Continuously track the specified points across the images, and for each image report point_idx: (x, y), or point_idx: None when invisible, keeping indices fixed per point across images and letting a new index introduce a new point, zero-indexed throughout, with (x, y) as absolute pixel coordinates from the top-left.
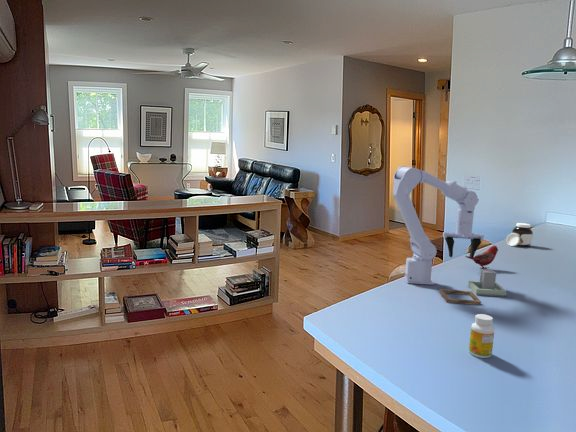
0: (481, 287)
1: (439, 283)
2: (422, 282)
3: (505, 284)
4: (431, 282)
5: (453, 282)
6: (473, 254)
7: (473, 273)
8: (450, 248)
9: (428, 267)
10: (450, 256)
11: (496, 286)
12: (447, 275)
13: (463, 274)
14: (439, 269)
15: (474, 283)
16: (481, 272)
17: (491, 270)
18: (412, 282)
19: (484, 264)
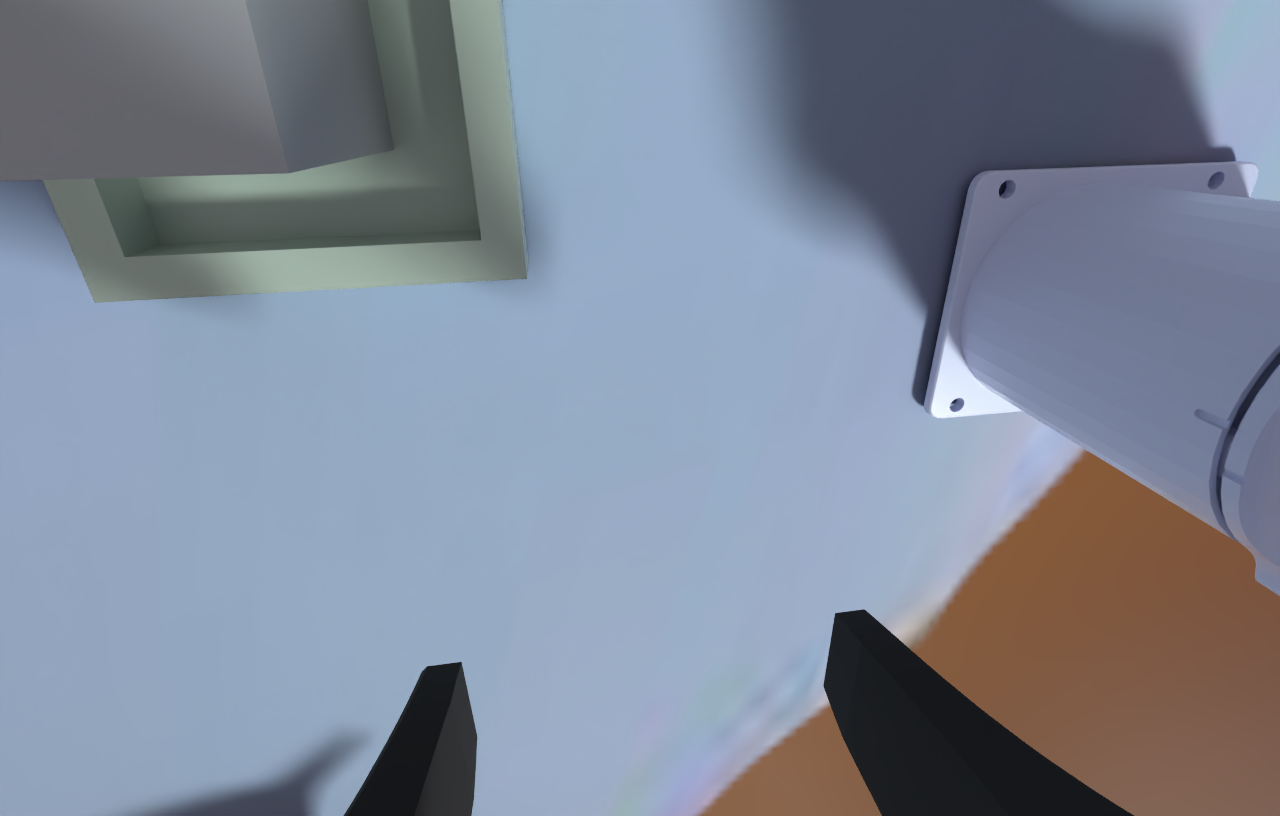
0: (361, 22)
1: (860, 280)
2: (1102, 181)
3: (24, 483)
4: (983, 224)
5: (680, 370)
6: (405, 738)
7: None
8: (1025, 752)
9: (1240, 238)
10: (873, 618)
11: None
12: (679, 595)
13: (506, 676)
14: (705, 736)
15: (449, 237)
16: (299, 117)
17: (1, 112)
18: (1210, 163)
19: None
